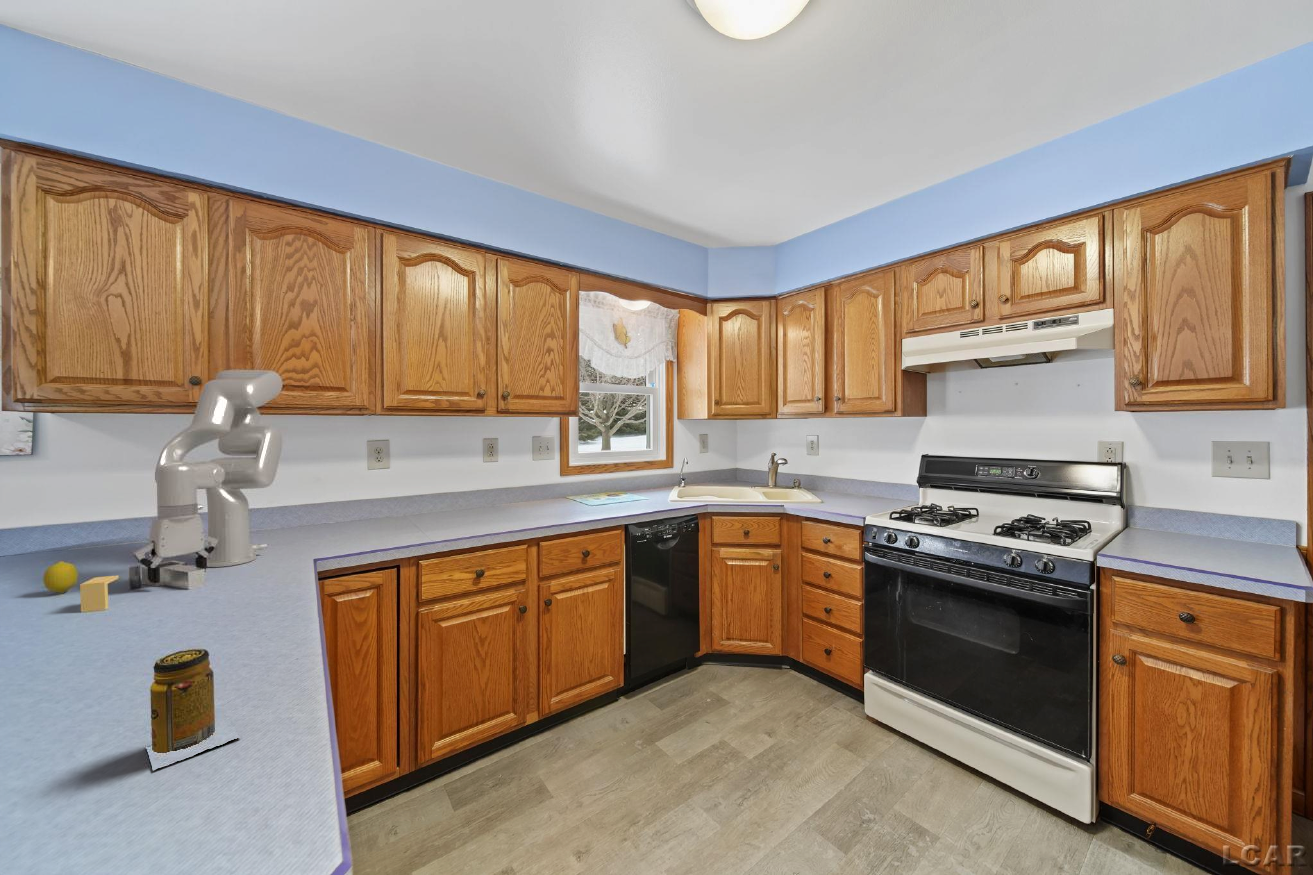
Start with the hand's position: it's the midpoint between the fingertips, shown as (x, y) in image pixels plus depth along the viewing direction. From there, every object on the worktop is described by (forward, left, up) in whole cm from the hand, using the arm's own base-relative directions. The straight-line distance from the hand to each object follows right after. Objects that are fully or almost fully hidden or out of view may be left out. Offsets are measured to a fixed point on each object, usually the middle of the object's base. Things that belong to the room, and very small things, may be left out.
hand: (178, 577), depth 133 cm
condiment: (+38, +83, -2) cm, 92 cm away
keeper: (+16, +3, -2) cm, 16 cm away
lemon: (+15, -19, -2) cm, 24 cm away
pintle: (+6, -7, -2) cm, 9 cm away
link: (0, -2, -2) cm, 3 cm away
